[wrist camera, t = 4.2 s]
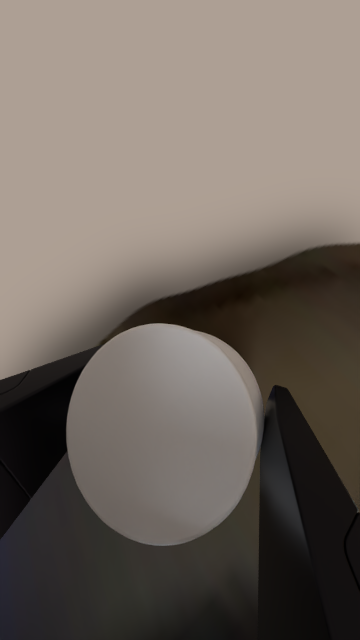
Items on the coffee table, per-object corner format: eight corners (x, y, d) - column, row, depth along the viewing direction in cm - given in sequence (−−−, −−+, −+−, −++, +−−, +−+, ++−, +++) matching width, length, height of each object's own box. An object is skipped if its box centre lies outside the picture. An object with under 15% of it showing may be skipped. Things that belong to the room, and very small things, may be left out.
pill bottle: (163, 356, 15) (58, 316, 6) (242, 347, 14) (259, 283, 5) (167, 443, 14) (28, 570, 4) (258, 442, 13) (326, 612, 3)
